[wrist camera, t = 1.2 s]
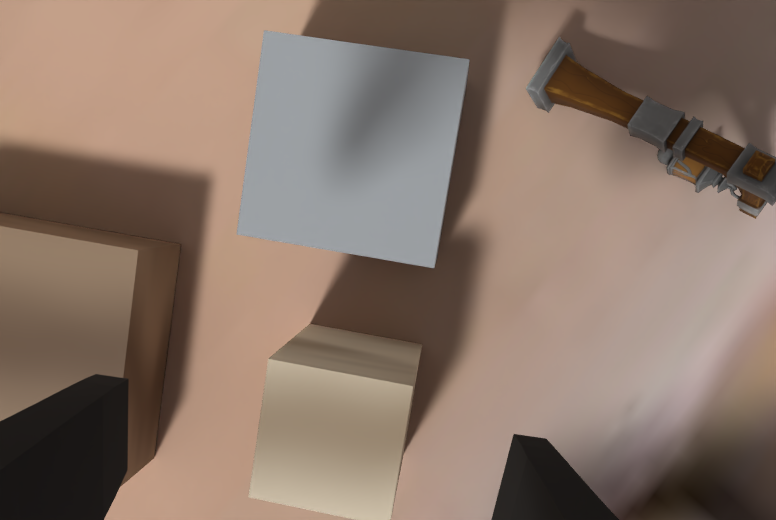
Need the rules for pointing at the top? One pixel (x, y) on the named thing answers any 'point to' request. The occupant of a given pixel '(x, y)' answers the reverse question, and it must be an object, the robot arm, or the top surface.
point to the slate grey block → (352, 147)
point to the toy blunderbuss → (659, 131)
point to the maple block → (335, 422)
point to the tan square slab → (85, 318)
